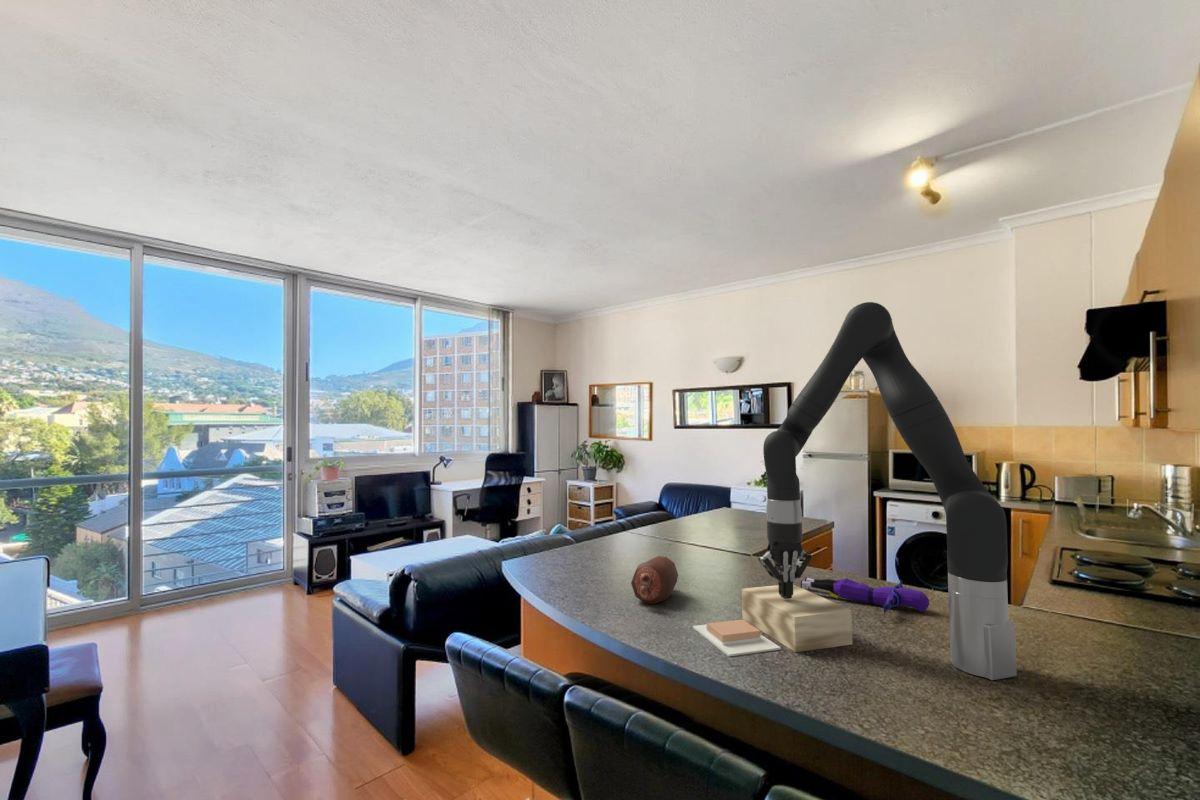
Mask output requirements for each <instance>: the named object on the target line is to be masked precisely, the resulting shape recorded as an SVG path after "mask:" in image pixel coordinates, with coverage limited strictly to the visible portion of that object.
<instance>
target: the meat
mask: <svg viewBox="0 0 1200 800" xmlns="http://www.w3.org/2000/svg"><path fill="white" fill-rule="evenodd" d="M678 578H679V573H678V569H677V567H676V564H675V562H674V561H672V560H671V559H670V558H668V557H667V556H660V555H658V556H655V557H653V558H651V559H648V560H647V561H645V562H642V563H640V564H639V565H637V567H636V569H635V572H634V574H633V577H632V579H631V582H630V584H631V587H632V590H633V592H634V596H635V598H637V599H638V600H640V601H641V602H643V603H644V604H648V603H649V605H654V604H657V603H658V604H659V603H660V602H663V601H664V600H668V599H669V597H670V596H671V595H672V594H673V591H674V589H675V587H676V584H677V583H678Z"/></svg>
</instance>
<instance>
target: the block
mask: <svg viewBox="0 0 1200 800" xmlns="http://www.w3.org/2000/svg"><path fill="white" fill-rule="evenodd" d="M741 611H742V612H741V616H742V619H743V620H745V621H746V622H748V623H749V624H751V625H752V626H754V627H755V628H757V629H759V630H760V632H763V633H765V634H766V635H767V636H769V637H771V638H772V639H774V640H775V641H777V642H778V643H780V644H781V645H783V646H784V647H786V648H788V649H789V650H790V651H793V652H794V653H801V652H807V651H808V652H809V651H814V650H823V649H828V648H835V647H842V646H849V645H853V618H852V617H853V616H852V613H853V612H852V610H851V609H850V608H847V607H844V606H843V605H841V604H839V603H836V602H834V601H832V600H830V599H827V598H825V597H822V596H820V595H819V594H816V593H813V592H811V591H809V590H805V589H802V588H801V586H799V585H796V584H793V595H792V598H789V599H784V598H782V597H781V595H779V586H778V585H768V586H767V585H765V586H758V587H757V586H756V587H747V588H746V587H745V588H741ZM742 619H741V620H742Z"/></svg>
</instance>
